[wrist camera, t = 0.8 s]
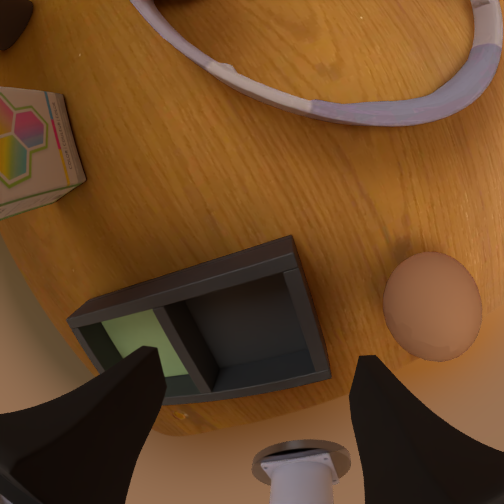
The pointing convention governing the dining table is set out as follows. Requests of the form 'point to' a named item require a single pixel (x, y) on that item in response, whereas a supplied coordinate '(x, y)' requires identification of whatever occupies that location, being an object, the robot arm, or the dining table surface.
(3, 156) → the ink box
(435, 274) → the egg
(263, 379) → the divided tray
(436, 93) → the headphones
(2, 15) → the coffee cup
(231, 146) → the dining table surface
